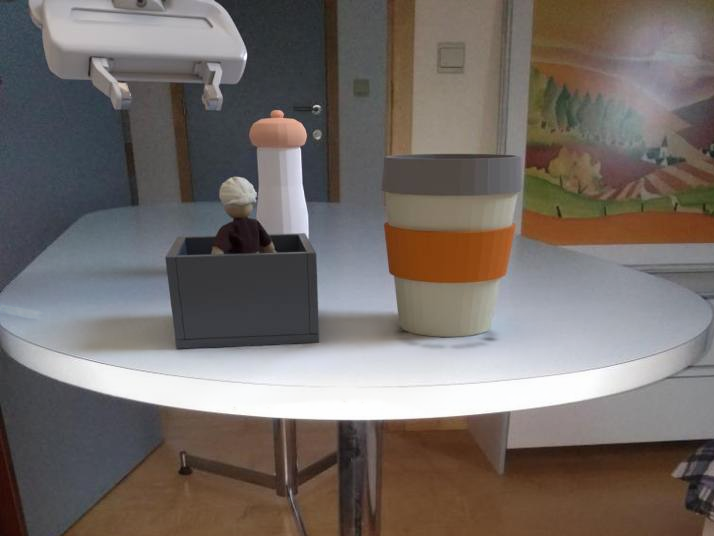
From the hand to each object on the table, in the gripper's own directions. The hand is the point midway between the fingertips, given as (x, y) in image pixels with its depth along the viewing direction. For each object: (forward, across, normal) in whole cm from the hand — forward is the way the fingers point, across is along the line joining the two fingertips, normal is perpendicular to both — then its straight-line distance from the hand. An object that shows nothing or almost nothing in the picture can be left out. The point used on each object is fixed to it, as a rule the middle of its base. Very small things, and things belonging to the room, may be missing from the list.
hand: (171, 105), depth 72 cm
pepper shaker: (+7, +16, +21) cm, 27 cm away
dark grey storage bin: (+24, 0, +3) cm, 24 cm away
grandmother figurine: (+24, 0, +3) cm, 24 cm away
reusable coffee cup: (+31, +17, -4) cm, 36 cm away
